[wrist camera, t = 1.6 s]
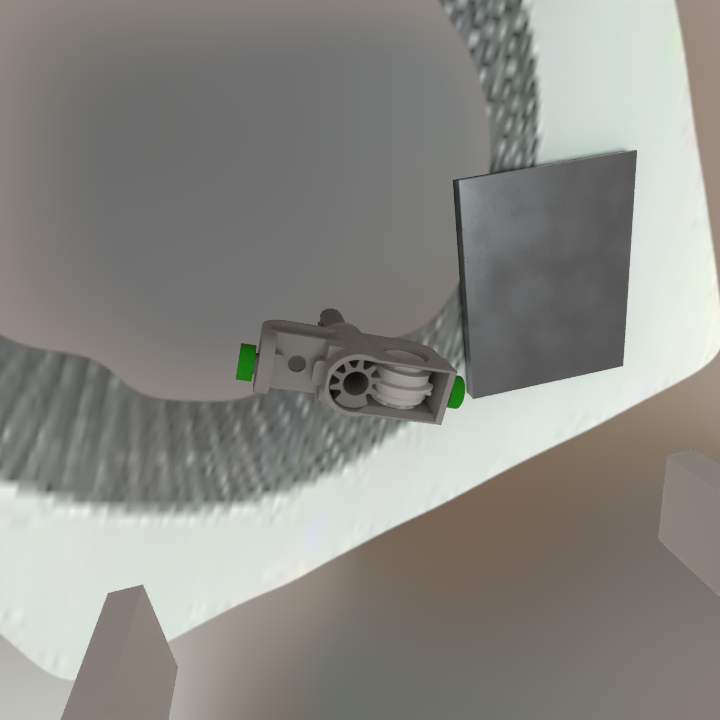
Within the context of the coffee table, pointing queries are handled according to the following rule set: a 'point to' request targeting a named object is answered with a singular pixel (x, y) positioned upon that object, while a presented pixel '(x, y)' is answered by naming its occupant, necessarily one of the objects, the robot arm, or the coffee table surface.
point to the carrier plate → (544, 270)
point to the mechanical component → (352, 369)
